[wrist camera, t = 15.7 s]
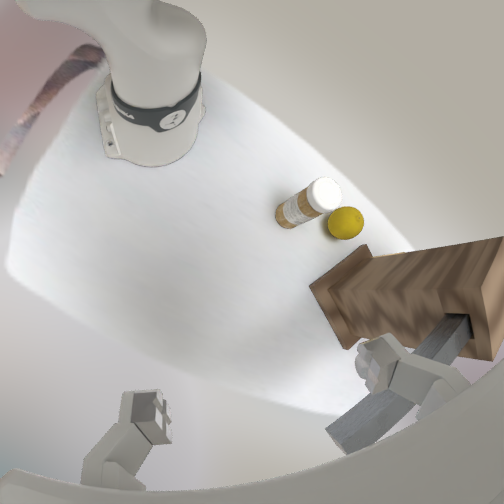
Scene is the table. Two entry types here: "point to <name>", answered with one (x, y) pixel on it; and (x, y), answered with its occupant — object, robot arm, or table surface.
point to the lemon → (345, 223)
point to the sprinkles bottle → (310, 203)
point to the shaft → (390, 403)
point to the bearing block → (417, 294)
